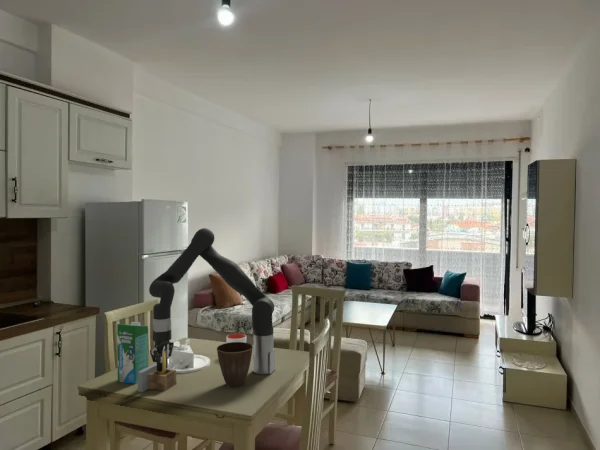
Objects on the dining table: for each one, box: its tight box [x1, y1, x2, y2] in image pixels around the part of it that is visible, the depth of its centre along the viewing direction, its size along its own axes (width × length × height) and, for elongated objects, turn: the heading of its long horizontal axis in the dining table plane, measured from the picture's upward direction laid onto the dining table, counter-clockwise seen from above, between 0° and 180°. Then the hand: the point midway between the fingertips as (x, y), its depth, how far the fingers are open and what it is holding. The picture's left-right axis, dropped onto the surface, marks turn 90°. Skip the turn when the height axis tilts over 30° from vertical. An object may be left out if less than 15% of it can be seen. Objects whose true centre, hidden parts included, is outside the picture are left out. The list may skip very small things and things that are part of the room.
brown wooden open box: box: [147, 369, 177, 392], centre depth 188 cm, size 8×8×6 cm
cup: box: [226, 333, 247, 343], centre depth 229 cm, size 10×10×10 cm
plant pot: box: [216, 342, 253, 389], centre depth 189 cm, size 15×15×16 cm
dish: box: [167, 338, 211, 374], centre depth 216 cm, size 25×25×11 cm
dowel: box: [158, 351, 166, 375], centre depth 188 cm, size 3×3×12 cm
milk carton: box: [116, 321, 149, 385], centre depth 196 cm, size 9×9×25 cm
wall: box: [137, 362, 157, 393], centre depth 189 cm, size 2×16×8 cm, turn 162°
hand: (162, 369), depth 188 cm, fingers closed on dowel, 3 cm apart
